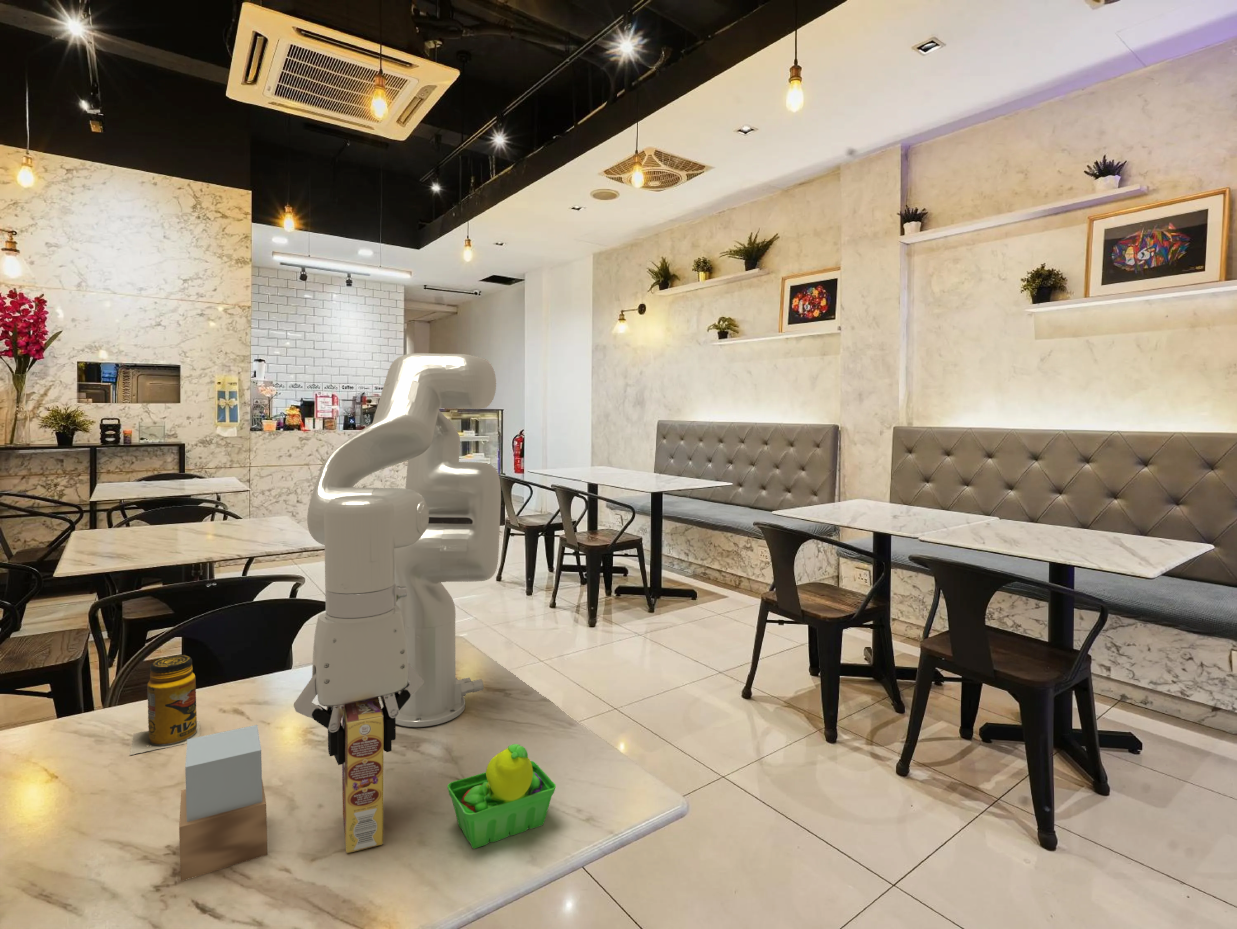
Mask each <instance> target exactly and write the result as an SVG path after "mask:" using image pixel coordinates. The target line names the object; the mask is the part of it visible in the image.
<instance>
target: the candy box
mask: <svg viewBox="0 0 1237 929" xmlns="http://www.w3.org/2000/svg"><path fill="white" fill-rule="evenodd" d="M341 724H342V727H343V729H344V731H345V762H344V763H343V764H341V765H342V766H341V771H342V773H341V776H342V777H341V778H342V779H341V780H342V782H341V783H342V785H341V786H342V794H341V795H342V819H343V821H342V822H343V829H344V830H343V831H344V836H345V837H344V842H345V853H346V854H349V853H353V852H357V851H362V850H367V849H371V848H374V847H378V846H382V845H383V844H384V750H383V740H384V716H383V712H382V705H381V703H380V697H376V698H372V699H367V700H363V701H358V702H354V703H349V704H345V707H344V711H343V715H342V719H341Z"/></svg>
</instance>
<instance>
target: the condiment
mask: <svg viewBox="0 0 1237 929" xmlns="http://www.w3.org/2000/svg"><path fill="white" fill-rule="evenodd" d="M149 670H150V673H149V678H150V679H149V680H148V682H147V685H146V689H147V713H148V715H147V724H148V726H147V727H148V730H146V731H139V732H134V733H133V735H132V742H131V746H130V752H129V756H131V755H132V756H133V755H135V754H142V753H145V752H150V751H151V752H152V751H155V750H160V749H166V748H171V747H175V746H181V745H187V739H191V738H196V737H201V735H200V734H201V731H200V729H201V728H200V726H201V725H200V722H201V721H200V720H197V714H198V713H197V689H196V688H197V685H196V683H197V682H196V680H197V679H196V675H195V673H194V672H193V670H194V669H193V659H192V657H191V656H188V655H181V654H180V655H170V656H165V657H162V658H158V659H157V660H155V661H153V662H151V663H150V666H149Z"/></svg>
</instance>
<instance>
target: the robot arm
mask: <svg viewBox="0 0 1237 929" xmlns="http://www.w3.org/2000/svg"><path fill="white" fill-rule="evenodd" d="M496 391H497V378H496V372H495V370H494V367H493V365H492V363H490V361H489V360H488V359H486V358H483V357H480V356H476V355H473V354H472V355H471V354H464V353H434V352H433V353H432V352H431V353H429V352H427V353H426V352H414V353H413V352H412V353H407V354H402V355H400V356H399V357H397V358H396V359H395V360H393V362H392V363H391V364H390V366H389V369H388V371H387V374H386V378H385V380H384V383H383V386H382V391H381V394H380V396H379V397H380V398H379V401H378V404H377V406H376V411H375V412H374V417H373V420H372V423H370V424H369V425H368V426H366V427H364V428H363V429H361V430H359V431H358V432H356V433H355V434H354V435H352V436H351V437H349V438H348V439H347V440H345V441H344V442H343V443H341V445H340V446H338V447H337V448H336V449H334V451H333V452H331V453H330V455H329V456H328V457H327V458H326V459H325V461H324V462H323V464H322V466H321V468H320V471H319V473H318V477H317V478H316V482H315V485H314V487H313V491H312V493H311V496H310V499H309V504H308V509H307V515H306V516H307V517H306V518H307V519H306V523H307V528H308V532H309V534H310V536H311V537H312V539H313V540H314V541H315V542H316V543H318V544H320V545H323V546H324V579H325V580H324V584H325V585H324V587H325V588H324V589H325V590H324V591H325V593H324V594H325V596H324V597H325V612H323V613H320V614H319V615H318V616H317V620H316V624H315V632H314V637H313V648H312V649H313V650H312V663H311V664H312V665H311V666H312V667H311V671H312V672H311V678H310V680H309V681H308V683H307V684H306V686H304V688H303V689H302V691H301V693H300V694H299V695H298V697H297V698H296V700H295V701H294V703H293V708H294V710H295V713H298V714H300V715H302V716H305V717H306V718H307V717H308V718H311V719H313V721H314V722H316V723H318V724H320V726H323V727H324V728H325V729H327V750H328V755H329V757H333V756H334V758H335V761H336V763H337V765H338V766H340V765H342V764H343V763H344V762H345V731H344V729H343V727H342V715H343V711H344V707H345V704H349V703H354V702H358V701H363V700H367V699H372V698H376V697H378V698H380V700H381V704H382V707H381V709H382V712H383V716H384V740H383V752H386V753H389V752H392V751H393V750H392V747H393V746H392V742H393V741H395V740H396V739H397V736H396V735H397V734H396V729H397V727H396V726H397V725H398V726H401V727H407V728H423V727H424V728H425V727H431V726H436V725H441V724H444V723H446V722H449V721H451V720H454V719H455V718H457V717H458V716H460V715H461V714H462V713H463V712H464V711H465V708H466V699H465V697H466V696H467V694H471V693H477V692H481V691H483V690H484V688H485V687H484V681H483V680H482V678H479V679H476V680H471V679H472V678H470V677H463V678H462V679H458V678H457V677H456V673H457V672H456V619H457V618H456V605H455V602H454V599H453V598H452V595H451V594H450V592H449V591H448V590H447V589H446V587H445V586H444V585H443V583H447V582H448V583H449V582H451V583H452V582H454V583H456V582H457V583H459V582H461V583H462V582H464V583H466V582H467V583H470V582H484V581H488V580H490V579H491V578H492V577H494V575H495V574H496V572H497V568H498V565H499V564H498V563H499V554H500V553H499V552H500V531H501V530H500V527H501V507H502V505H501V504H502V492H501V491H502V487H501V479H500V475H499V472H498V471H497V470H496V468H495V467H494V466H493V465H492V464H489V463H485V462H480V461H479V462H478V461H460V446H461V437H460V434H459V432H458V430H457V429H456V427H455V426H454V425H453V423H452V422H451V421H450V420H449V418H448V417H446V415H445V414H444V413H442V412H441V411H440V409H456V410H457V409H460V410H461V409H463V410H467V409H469V410H470V409H472V410H481V409H485V408H487V407H489V406H490V405H491V404H492V402H493V400H494V398H495V395H496ZM406 461H407V467H406V476H405V477H406V478H405V479H406V480H405V486H404V487H405V488H402V487H401V488H400V487H354V486H355V485H356V484H358V483H360V481H361V480H364V479H365V478H366V477H368V476H370V475H372V474H374V473H376V472H379V471H381V470H382V471H383V470H384V469H388V468H390V467H393V466H396V465H399V464H401V463H402V464H403V463H404V462H406ZM430 518H467V519H470V520H471V521H472V523H429V521H430ZM316 697H317V701H318V703H319V704H315V703H314V702H313V701H314V700H315V698H316ZM322 706H323V707H322ZM324 707H326V708H324Z"/></svg>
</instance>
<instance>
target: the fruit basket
mask: <svg viewBox="0 0 1237 929" xmlns="http://www.w3.org/2000/svg"><path fill="white" fill-rule="evenodd" d="M528 756H529V755H528V751H527V749H526V748H525V747H524V746H522V745H521V744H517V743H512V744H510V745H509V746H508V747H507V748H504V749H503V750H502V751H500V752H498V753H496V755H495V756H493V757H492V758H491V759H490V760H489V762H488V764H487V767H486V771H485V772H482V773H478V774H475V775H473V776H468V777H465V778H464V777H463V778H461V779H457V780H454V781H451V782H449V783H448V784H447V786H446V787H447V790H448V795H449V796H450V798H451V802H452V804H453V809H454V812H455V815H456V816H455V817H456V820H457V824H458V827H459V828H460V829H461V830H462V833H463V835H464V837H465V838H466V840H467V841H468V842H469V843H470V846H471V848H472V849H478V848H480V847H484V846H486V845H488V844H489V843H495V842H497V841H500V840H503V839H506V838H507V837H509V836H515V835H518V834H521V833H524V832H526V831H527V830H528V829H529V830H531V829H535V828H538V827H541V826H543V825H544V824H545V821H546V817H547V814H548V810H549V806H550V803H551V799H552V796H553V795H554V794H555V791H556V787H557V786H556V783H555V782H554V781H552V779H551V778H550V777H549V775H547V774H546V772H544V770H543V769H542V767H540V766H539V765H538V764H537V763H536V762H534V761H533V760H531V759H530V758H529V757H528Z"/></svg>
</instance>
